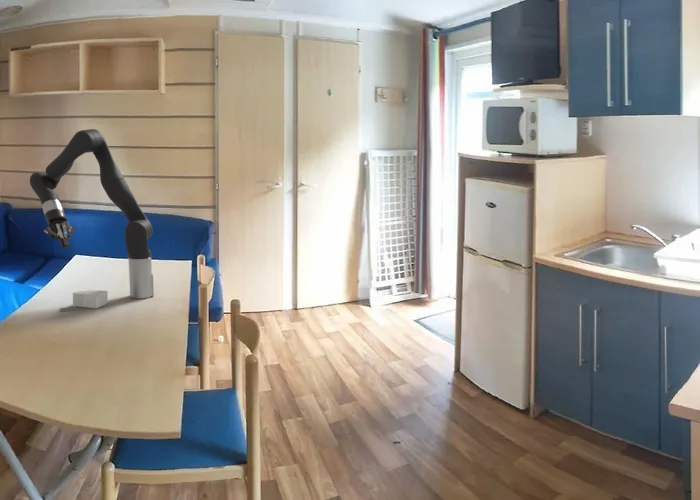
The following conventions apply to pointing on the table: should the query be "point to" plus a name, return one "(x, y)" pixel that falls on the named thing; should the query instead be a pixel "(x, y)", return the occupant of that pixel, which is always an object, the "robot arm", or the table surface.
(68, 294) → the table surface
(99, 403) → the table surface
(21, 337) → the table surface
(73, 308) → the charcoal mat
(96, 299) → the small box
